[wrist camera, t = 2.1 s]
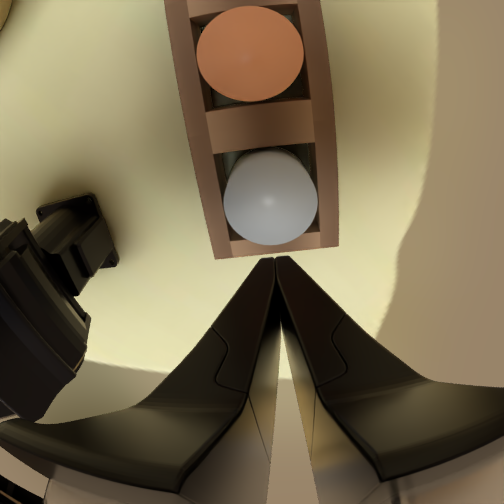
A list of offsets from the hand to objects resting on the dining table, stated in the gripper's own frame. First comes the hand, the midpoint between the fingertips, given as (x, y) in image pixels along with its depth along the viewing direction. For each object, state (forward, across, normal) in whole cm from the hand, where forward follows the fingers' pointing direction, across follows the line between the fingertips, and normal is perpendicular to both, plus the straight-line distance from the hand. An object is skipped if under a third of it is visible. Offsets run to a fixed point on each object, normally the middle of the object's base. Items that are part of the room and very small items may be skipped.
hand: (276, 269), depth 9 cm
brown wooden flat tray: (+12, 0, -7) cm, 14 cm away
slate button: (+10, 0, +1) cm, 11 cm away
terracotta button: (+11, 0, -7) cm, 13 cm away
